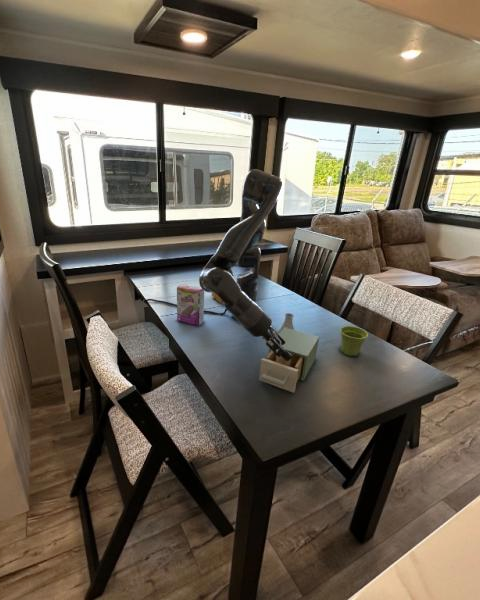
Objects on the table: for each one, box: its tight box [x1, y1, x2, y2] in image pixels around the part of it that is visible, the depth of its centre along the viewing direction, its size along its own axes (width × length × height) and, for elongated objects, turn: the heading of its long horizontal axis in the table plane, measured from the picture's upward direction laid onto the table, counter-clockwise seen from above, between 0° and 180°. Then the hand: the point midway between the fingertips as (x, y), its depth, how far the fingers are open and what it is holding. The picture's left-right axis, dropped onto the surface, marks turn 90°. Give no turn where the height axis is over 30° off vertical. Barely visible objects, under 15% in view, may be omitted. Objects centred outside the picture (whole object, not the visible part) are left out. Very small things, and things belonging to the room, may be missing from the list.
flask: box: [277, 312, 295, 334], centre depth 126 cm, size 7×7×10 cm
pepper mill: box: [276, 355, 292, 367], centre depth 98 cm, size 5×5×9 cm
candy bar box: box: [176, 283, 205, 327], centre depth 135 cm, size 11×5×16 cm, turn 65°
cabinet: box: [268, 327, 320, 382], centre depth 108 cm, size 15×13×10 cm
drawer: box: [258, 349, 305, 394], centre depth 99 cm, size 18×11×8 cm, turn 148°
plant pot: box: [339, 325, 369, 357], centre depth 116 cm, size 9×9×9 cm
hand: (286, 351), depth 97 cm, fingers open, 8 cm apart
